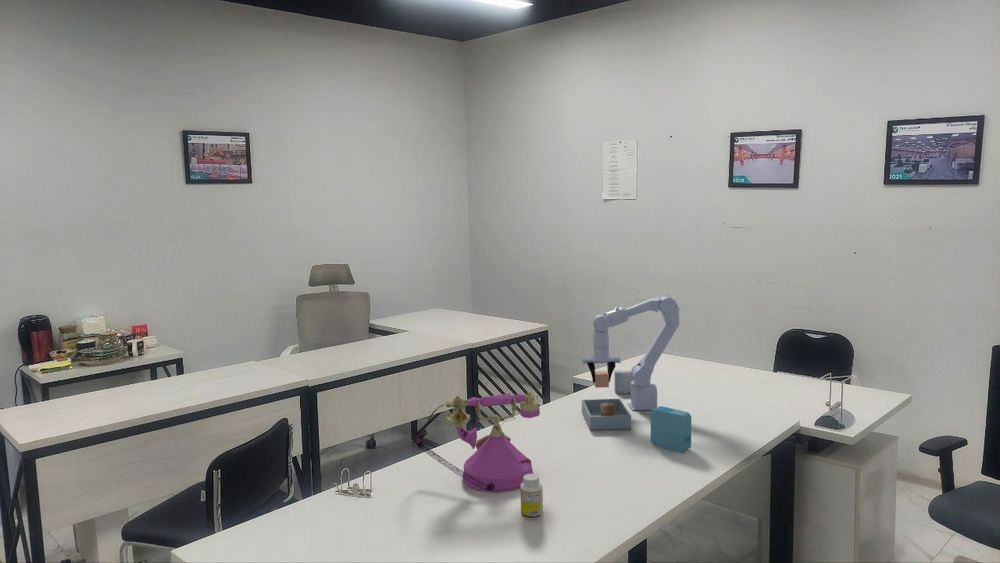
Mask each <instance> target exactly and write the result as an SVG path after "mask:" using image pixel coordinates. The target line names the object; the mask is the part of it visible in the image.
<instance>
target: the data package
mask: <svg viewBox="0 0 1000 563" xmlns="http://www.w3.org/2000/svg"><path fill="white" fill-rule="evenodd" d="M650 443H651V444H652V445H653V446H656V447H658V448H663V449H666V450H670V451H673V452H677V453H679V454H680V453H684V452H685V451H687V450H689V449H690V448H691V446H692V415H691V414H690V413H689V412H688V411H685V410H680V409H675V408H671V407H667V406H663V405H661V406H657V408H655V409H653V410H650Z"/></svg>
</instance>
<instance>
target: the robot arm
mask: <svg viewBox="0 0 1000 563" xmlns="http://www.w3.org/2000/svg"><path fill="white" fill-rule="evenodd" d="M649 311H651V312H656V313H659V311H660V313H661V314H662V318H663V320H664V323H663V325H662V326H661V327H660V330H659V331H658V333H657V335H656V336H655V338H654V339H653V341H652V342H651V344H650V346H649V348H648V350H647V351H646V352H645V354H644V355H643V357H642V358H641V359H640V360H639V361H638V363H637V364H635V365H633V366H632V368H631V369H630V371H631V374H632V376H633V381H632V382H631V393H630V402H628V403H627V404H628V406H629V407H630V408H631V410H632V411H652V410H653V409H655V408H657V407H658V388H657V385H656V384H655V383H651V379H652V374H653V372H654V369H655V366H656V364H657V362H658V361H659V359H660V358H661V356H662V354H663V353H664V351H665V349H666V347H667V346H668V344H669V343H670V341H671V339H672V338H673V336H674V334H675V333H676V331H677V329H678V328H679V326H680V308H679V306H678V303H677V301H676V300H675V299H673V297H672V296H671V295H668V294H661V295H659V296H654V297H651V298H649V299H647V300H645V301H642V302H639V303H637V304H635V305H633V306H630V307H627V308H624V307H623V306H621V307H619V306H616V307H614V309H612V310H610V311H608V312H606V311H604V312H602V314H597V315H595V316H594V317H593V320H592V325H593V327H594V328H593V336H592V340H593V342H592V343H593V356H588V357H581V364H582V365H585V364H587V367H588V368H589V372H590V375H591V379H592V383H593V384H594V383H595V371H596V365H595V364H606V366H607V367H606V368H607V370H606V371H607V372H608V374H609V383H611V380H612V379H611V378H612V375H613V373H614V371H615V369H616V364H622V362H621V359H622V358H621V357H620V356H610V354H609V353H610V349H609V348H610V345H609V344H610V341H609V337H610V336H609V328H613V327H617V326H618V325H621V324H624V323H626V322H628V320H629V319H630V318H631V317H634V316H637V315H639V314H642V313H646V312H649Z"/></svg>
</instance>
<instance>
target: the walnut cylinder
mask: <svg viewBox="0 0 1000 563" xmlns="http://www.w3.org/2000/svg"><path fill="white" fill-rule="evenodd" d="M601 416H615V404H613V403H602V404H601Z"/></svg>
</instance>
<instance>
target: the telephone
mask: <svg viewBox="0 0 1000 563" xmlns="http://www.w3.org/2000/svg"><path fill="white" fill-rule="evenodd" d="M517 404H519V406H520V409H519V415H520V416H521V417H523V418H527V419H531V418H532V419H533V418H536V417H539V416H540V415H541V412H540V410H541V409H540V401H539V400H536V399H535V395H533V394H532V391H527V394H526V395H525V394H520V393H517V394H516V395H515V394H512V395H511V393H503V394H497V395H489V396H488V395H487V396H481V397H480V398H479V397H475V396H473V397H471V398H470V397H469V398H468V399H463V398H461V397H460V395H456V396H455V398H453V400H449V401H445V403H443V404H441V405H439V406H438V407H437V408H436V409H434V410H433V412H432V413H431V414H430V416H429V418H428V419H427V422H426V424H425V427H424V430H423V429H422V431H420V433H418V434H417V436H416V438H415V444H416V446H417V447H418V449H420V450H421V451H423V452H425V454H427V455H428V456H430V457H432V458H433V459H434V460H435V461H437V462H438V463H439V464H441V465H443V466H444V467H446V468H447V469H449V471H452V472H453V474H456V475H458V476H459V477H461V478H462V479H463V480H464V481H465V483H466V484H467V486H468V487H469V488H472V489H474V490H477V491H481V492H489V493H490V492H491V493H505V492H506V493H507V492H512V491H516V490H519V489H520V486H521V484H522V483H523V476H524V475H526V474H535V473H534V470H533V466H532V465H533V464H532V461H531V459H530V458H528V457H527V456H526V455H525V454H524V453H522V452H521V451H520V450H519V449H518V448H517V447H516V446H515V445H514V444H513V443H511V440H512V438H511V437H509V436H508V435H506V434H505V433H504V432H503V430H502V427H501V426H502V425H503V424H504V423H505V422H509V421H512V420H515V419H516V418H517V417H514V416H515V412H516V411H517V407H518V406H517ZM506 405H511V413H512V414H511V415H506V416H500V415H498V414H495V415H493V417H491V416H490V417H481V415H482V414H481V413H482V412H481V410H482V408H485V407H495V406H506ZM443 406H445V407H446V408H454V409H453V411H452V412H451V413H450V414H449V415H447V416H446V417H445V420H446V421H447V423H449V425H454V426H455V428H456V433H457V435H458V437H459V439H461V440H462V441H463V442H465V443H467V444H469V445H470V447H471V448H472V450H475V448H476V451H474V453H473V454H471V455H470V456H469V457H468V458H467V459H466V460H465V462H464V463H463V470H461V469H459V468H458V467H456V466H455V465H453V464H452V463H450V462H449V461H447V460H446V459H444V458H442V457H441V456H440V455H439V454H437V453H436V452H435V451H433V450H432V449H430V448H429V447H428V446H426V445H425V444H423V442H422V440H423V438H425V436H427V435H428V431H427V430H426V428H427V425H428V423H429V421H430V419H431V418H432V417H433V415H434V413H435V412H436V411H437V410H438V409H440V408H441V407H443ZM466 406H469V407H470V406H471V407H472V406H473V407H474V408H475V412H476V415H477V418H478V419H479V420H478V419H477V420H476V422H479V423H483V424H484V423H486V424H487V423H488V424H490V425H492V428H491V432H490V433H489V434H486V435H485V436H483V437H480V438H479V439H478V432H477V431H478V430H477V427H475V428H473V429H472V430H467V429H464V428H463V427H462V426H463V425H467V424H468V423H469V421H470V420H471V415H470V414H467V413H466V412H465V411H464V410H463V409H462V408H463V407H466ZM481 407H482V408H481ZM510 418H511V419H510ZM502 419H508V420H504V421H503V422H502V423H501V424H500V420H502ZM490 421H494V423H493V424H492V423H491V422H490Z"/></svg>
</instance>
